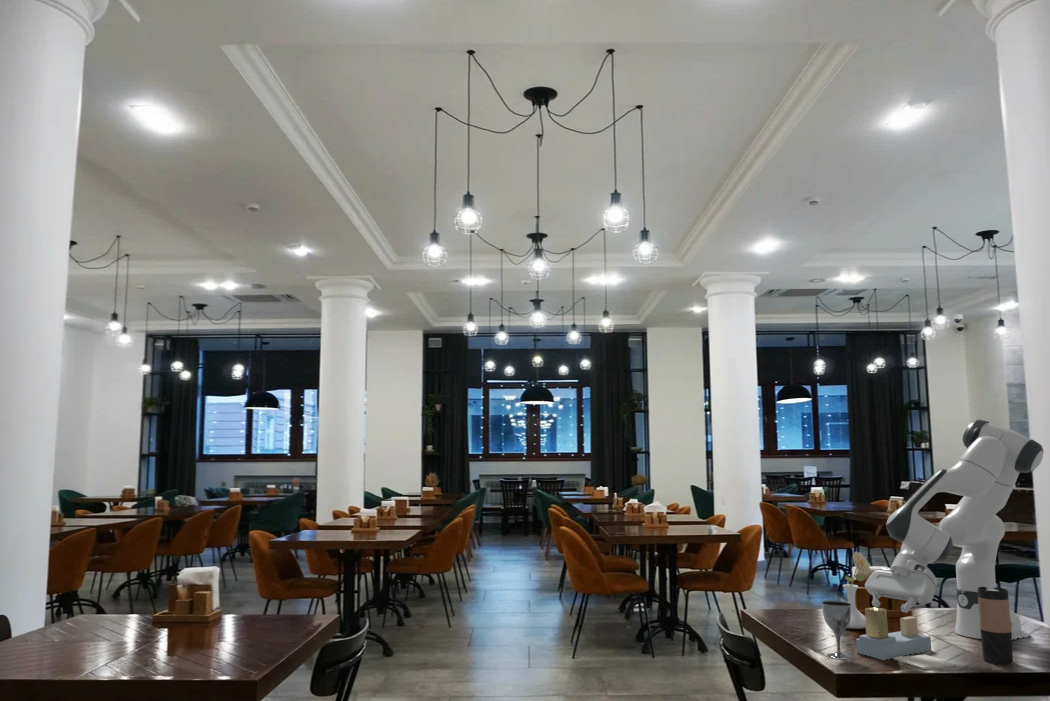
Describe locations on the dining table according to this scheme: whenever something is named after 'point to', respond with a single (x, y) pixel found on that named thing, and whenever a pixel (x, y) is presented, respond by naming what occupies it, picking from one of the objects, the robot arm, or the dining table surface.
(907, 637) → the grey stepped base plate
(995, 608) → the travel mug
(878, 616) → the yellow rectangular block
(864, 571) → the flower in vase
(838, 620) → the wine glass
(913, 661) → the felt mat
